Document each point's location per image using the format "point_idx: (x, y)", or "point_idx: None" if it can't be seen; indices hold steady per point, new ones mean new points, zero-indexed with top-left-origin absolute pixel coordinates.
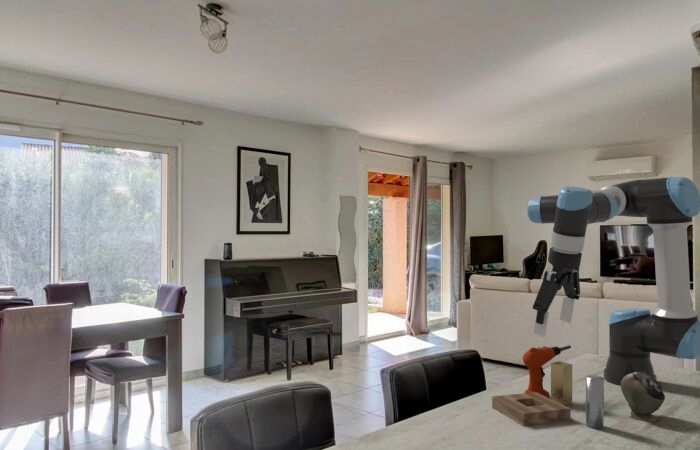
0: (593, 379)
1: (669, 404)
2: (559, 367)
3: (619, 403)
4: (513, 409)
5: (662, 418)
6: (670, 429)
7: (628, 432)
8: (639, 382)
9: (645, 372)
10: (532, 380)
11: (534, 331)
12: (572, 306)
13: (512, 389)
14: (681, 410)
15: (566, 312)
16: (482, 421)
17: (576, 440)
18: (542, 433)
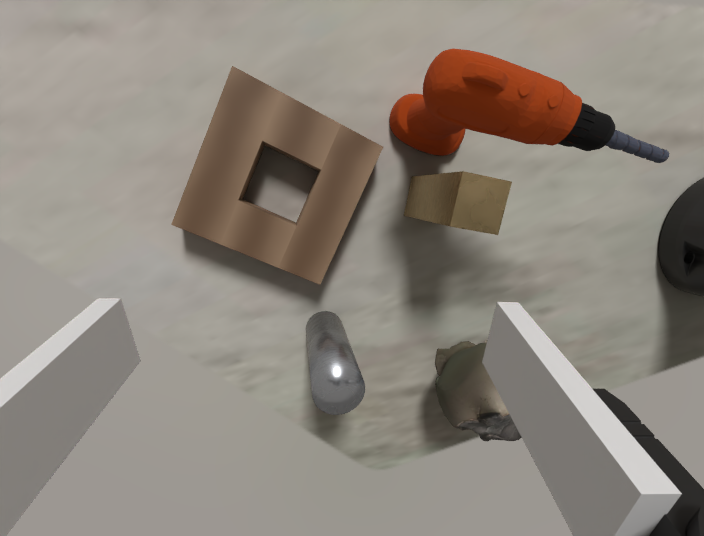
0: (314, 399)
1: (579, 361)
2: (450, 209)
3: (518, 294)
4: (189, 179)
5: None
6: (424, 422)
7: None
8: (473, 422)
9: None
10: (422, 112)
11: (90, 310)
12: (550, 489)
13: (442, 30)
14: None
15: (521, 390)
16: (110, 123)
17: (207, 344)
18: (179, 277)
